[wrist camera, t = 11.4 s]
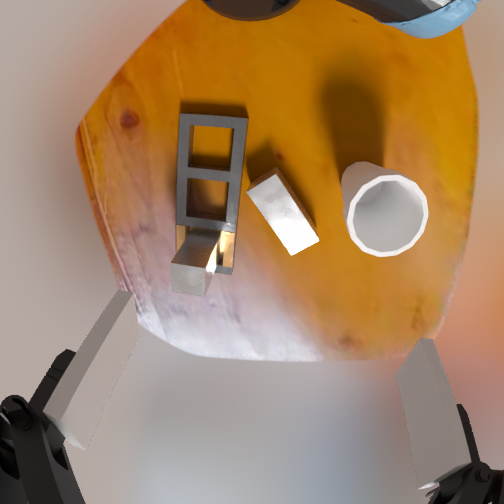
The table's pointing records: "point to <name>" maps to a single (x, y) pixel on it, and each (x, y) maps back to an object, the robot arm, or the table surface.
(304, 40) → the table surface
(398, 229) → the foam cup
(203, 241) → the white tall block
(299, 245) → the block
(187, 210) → the grey flat frame
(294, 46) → the table surface
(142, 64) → the table surface
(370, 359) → the table surface
